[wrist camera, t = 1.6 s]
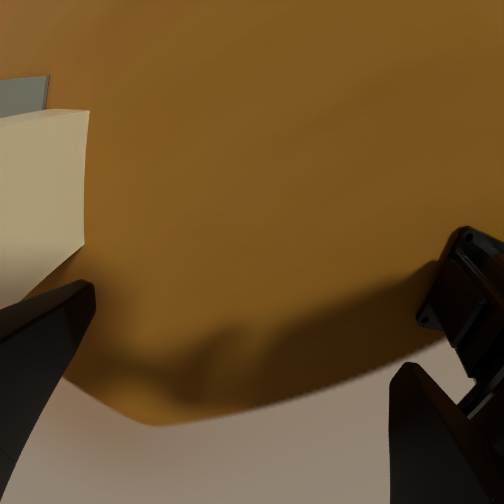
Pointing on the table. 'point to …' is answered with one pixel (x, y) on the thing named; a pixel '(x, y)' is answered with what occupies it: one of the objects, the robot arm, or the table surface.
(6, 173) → the glazed tile
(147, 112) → the table surface
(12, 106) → the rubber mat
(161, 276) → the table surface
